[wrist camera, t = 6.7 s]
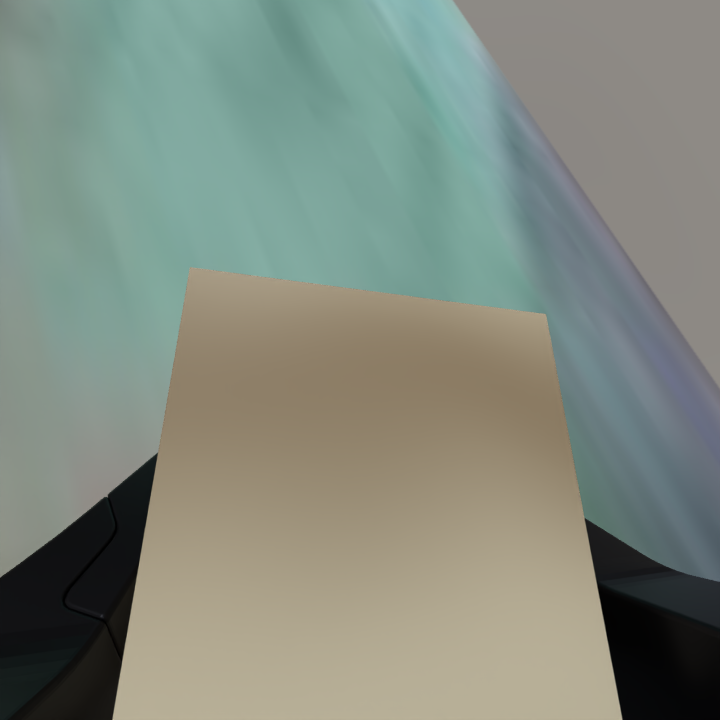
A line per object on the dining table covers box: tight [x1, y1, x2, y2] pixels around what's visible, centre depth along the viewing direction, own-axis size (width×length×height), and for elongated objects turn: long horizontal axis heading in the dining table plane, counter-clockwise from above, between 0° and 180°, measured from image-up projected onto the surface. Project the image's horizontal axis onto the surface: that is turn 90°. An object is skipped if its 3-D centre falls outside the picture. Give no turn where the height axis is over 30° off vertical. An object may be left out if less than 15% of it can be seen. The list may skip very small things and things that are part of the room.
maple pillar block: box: [112, 267, 622, 720], centre depth 9 cm, size 5×5×12 cm
